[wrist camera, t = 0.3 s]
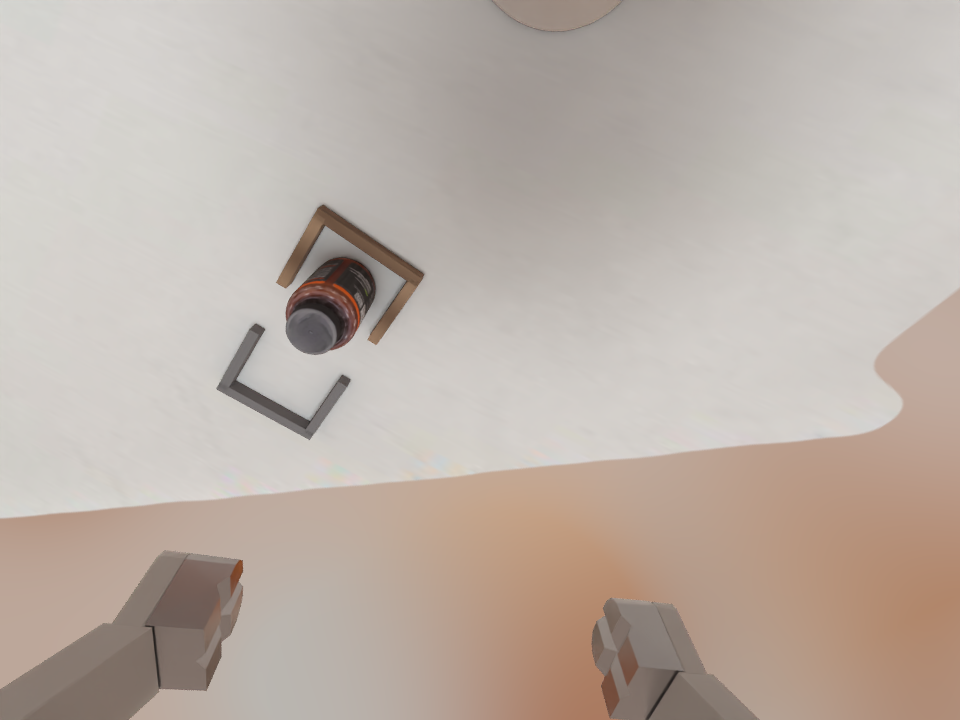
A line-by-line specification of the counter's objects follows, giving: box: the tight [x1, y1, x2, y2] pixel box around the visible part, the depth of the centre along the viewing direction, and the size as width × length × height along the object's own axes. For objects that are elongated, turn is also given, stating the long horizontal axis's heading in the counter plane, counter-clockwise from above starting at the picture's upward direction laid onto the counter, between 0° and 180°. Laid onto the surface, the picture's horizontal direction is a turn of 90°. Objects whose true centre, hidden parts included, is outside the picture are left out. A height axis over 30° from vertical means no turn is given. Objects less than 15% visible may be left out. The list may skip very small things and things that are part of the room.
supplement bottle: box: [286, 258, 375, 355], centre depth 43 cm, size 6×6×11 cm
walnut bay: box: [276, 205, 424, 345], centre depth 47 cm, size 8×11×2 cm
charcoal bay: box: [217, 324, 350, 440], centre depth 52 cm, size 8×11×2 cm
